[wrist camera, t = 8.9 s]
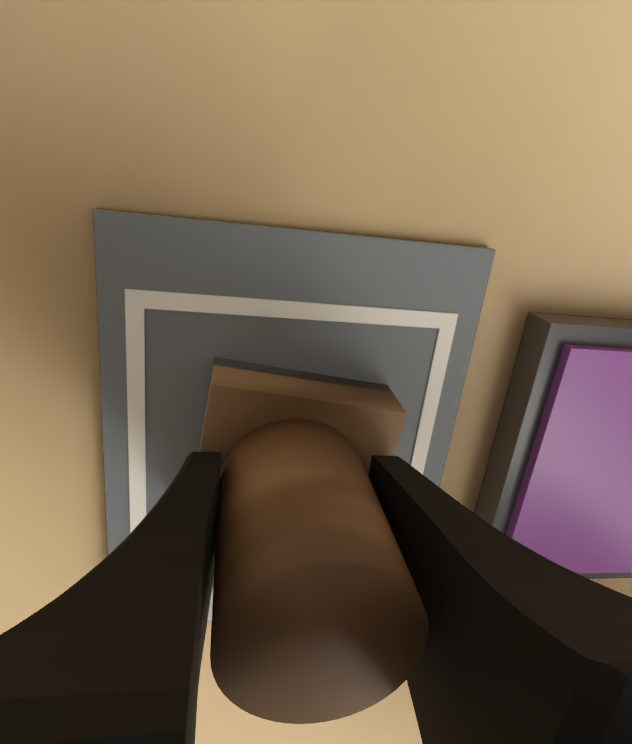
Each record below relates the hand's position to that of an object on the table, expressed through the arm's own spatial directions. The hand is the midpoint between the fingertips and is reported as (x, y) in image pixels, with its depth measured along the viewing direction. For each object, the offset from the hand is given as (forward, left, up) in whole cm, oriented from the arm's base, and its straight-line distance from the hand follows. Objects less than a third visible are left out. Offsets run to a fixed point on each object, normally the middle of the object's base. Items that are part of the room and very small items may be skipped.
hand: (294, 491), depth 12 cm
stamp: (0, 0, -2) cm, 2 cm away
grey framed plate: (0, 0, -2) cm, 2 cm away
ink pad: (-9, 0, -2) cm, 10 cm away
